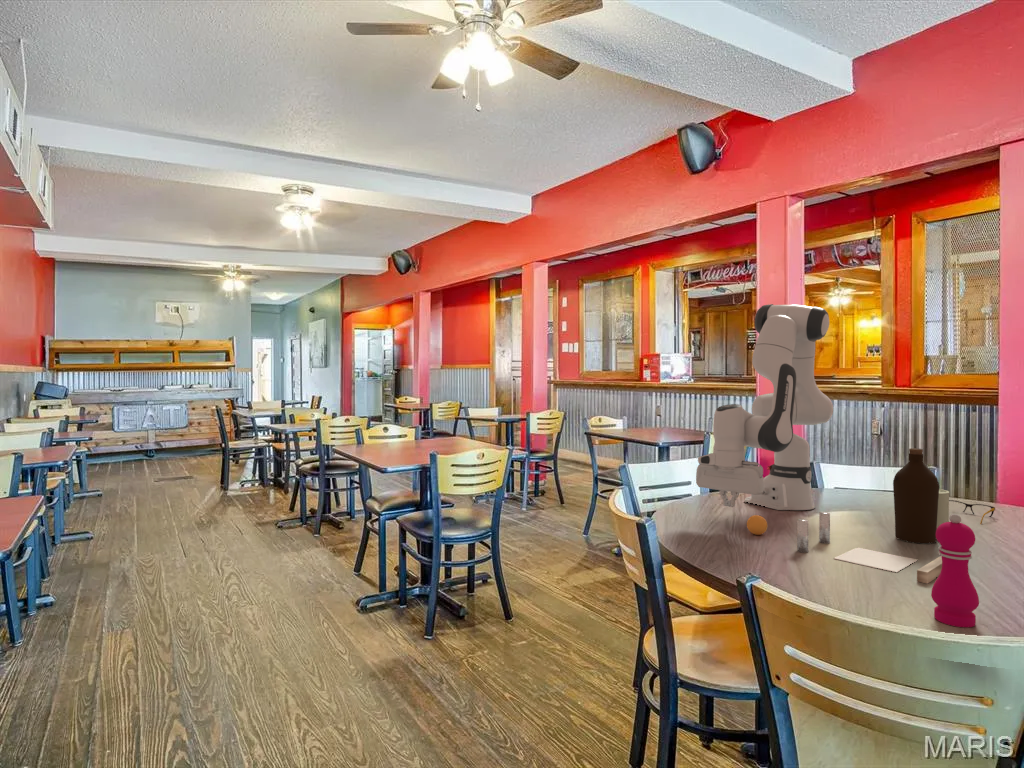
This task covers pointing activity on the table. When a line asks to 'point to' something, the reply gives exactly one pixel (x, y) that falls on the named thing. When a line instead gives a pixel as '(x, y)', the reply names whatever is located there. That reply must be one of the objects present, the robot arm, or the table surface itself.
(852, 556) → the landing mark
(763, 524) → the ball
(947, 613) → the pepper mill
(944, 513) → the can
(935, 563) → the wall
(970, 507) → the eyeglasses
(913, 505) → the olive oil
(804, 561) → the table surface
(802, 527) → the post
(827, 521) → the post
